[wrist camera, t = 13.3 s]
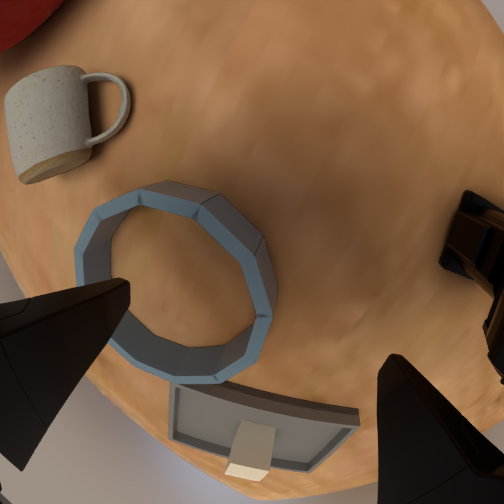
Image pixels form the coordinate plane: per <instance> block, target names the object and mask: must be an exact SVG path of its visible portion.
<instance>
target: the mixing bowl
mask: <svg viewBox="0 0 504 504" xmlns="http://www.w3.org/2000/svg"><path fill="white" fill-rule="evenodd" d="M64 1H65V0H0V53H1V52H3V51H5V50H7V49H9V48H11V47H12V46H14V45H16V44H17V43H19V42H20V41H22V40H23V39H24V38H26V37H27V36H28V35H29V34H31V33H32V32H33V31H34V30H35V29H36V28H37V27H39V26H40V25H41V24H43V23H44V22H45V21H46V20H47V19H48V18H49V17H50V16H51V15H52V14H53V13H54V12H55V11H56V10H57V9H58V8H59V7H60V6H61V4H62V3H63V2H64Z"/></svg>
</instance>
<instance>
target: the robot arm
mask: <svg viewBox="0 0 504 504" xmlns="http://www.w3.org/2000/svg"><path fill="white" fill-rule="evenodd" d="M469 195H470V199H468V196H469ZM445 260H447V261H446V263H445V264H444V261H445ZM439 264H440V266H441V267H442V268H444V269H446V270H449V271H451V272H454V273H457V274H459V275H462V276H464V277H467V278H469V279H472V280H475V281H476V282H477V283H478V284H479V285H480V286H481V287H482V288H483V289H484V290H485V291H486V292H487V293H488V294H489V295H490V296H491V297H492V298H493V299H494V301H493V304H492V306H491V309H490V312H489V314H488V317H487V319H486V320H485V321H484V324H483V326H482V327H483V330H484V334H485V337H486V341H487V345H488V349H489V352H488V354H487V356H488V358H489V360H490V362H491V364H492V365H493V367H494V368H495V370H496V371H497V373H498V374H499V375H500V376H501V377H502V379H501V380H500V382H501V384H503V385H504V211H502V210H501V209H499V208H498V207H496V206H495V205H493V204H492V203H490V202H489V201H487V200H485V199H484V198H482V197H481V196H479V195H477V194H476V193H474V192H472V191H469V190H467V191H465V192H464V195H463V198H462V201H461V204H460V207H459V210H458V213H457V215H456V218H455V221H454V224H453V226H452V229H451V232H450V234H449V237H448V240H447V243H446V246H445V248H444V251H443V253H442V255H441V258H440V261H439ZM129 306H130V282H129V281H128V280H125V279H122V278H114V279H110V280H105V281H101V282H96V283H92V284H88V285H83V286H79V287H74V288H70V289H66V290H61V291H57V292H53V293H48V294H44V295H40V296H35V297H32V298H26V299H23V300H18V301H13V302H8V303H1V304H0V453H1V454H2V455H3V456H4V457H5V458H6V459H7V460H9V461H10V462H11V463H12V464H13V465H14V466H15V467H17V468H18V469H19V470H20V471H23V470H24V468H25V466H26V465H27V463H28V461H29V459H30V458H31V456H32V454H33V453H34V451H35V449H36V448H37V446H38V444H39V443H40V441H41V439H42V438H43V436H44V435H45V433H46V431H47V430H48V428H49V426H50V425H51V423H52V422H53V420H54V418H55V417H56V415H57V414H58V412H59V410H60V409H61V408H62V406H63V405H64V403H65V402H66V400H67V399H68V397H69V396H70V394H71V393H72V391H73V390H74V388H75V387H76V385H77V384H78V383H79V381H80V380H81V378H82V377H83V376H84V374H85V373H86V371H87V370H88V369H89V367H90V366H91V364H92V363H93V362H94V360H95V359H96V358H97V356H98V355H99V353H100V352H101V351H102V349H103V348H104V347H105V345H106V344H107V343H108V341H109V340H110V338H111V337H112V335H113V333H114V332H115V330H116V328H117V326H118V325H119V323H120V321H121V320H122V318H123V316H124V315H125V313H126V311H127V310H128V308H129ZM377 429H378V501H377V504H504V454H503V453H502V452H501V451H500V450H499V449H498V448H497V447H496V446H494V445H493V444H492V443H491V442H490V441H489V440H488V439H487V438H486V437H484V436H483V435H482V434H481V433H480V432H479V431H478V430H477V429H476V428H475V427H474V426H473V425H472V424H471V423H470V422H469V421H468V420H467V419H466V418H465V417H464V416H462V414H461V413H460V412H459V411H458V410H457V409H456V408H455V407H454V406H453V405H452V404H451V403H450V402H449V401H448V400H447V399H446V398H445V397H444V396H443V395H442V394H441V393H440V392H439V391H438V390H437V389H436V388H435V387H434V386H433V385H432V384H431V383H430V382H429V381H428V380H427V379H426V378H425V377H424V376H423V375H422V374H421V373H420V372H419V371H418V370H417V369H416V368H415V367H414V366H413V365H412V364H411V363H409V362H408V361H407V360H406V359H405V358H404V357H403V356H402V355H399V354H390V355H389V356H388V358H387V359H386V361H385V362H384V364H383V365H382V367H381V368H380V370H379V372H378V377H377ZM1 490H2V487H1V483H0V492H1ZM0 504H12V503H11V502H9V501H8V500H7V499H6V498H5V497H4V496H3V495H2V494H1V493H0Z"/></svg>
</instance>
